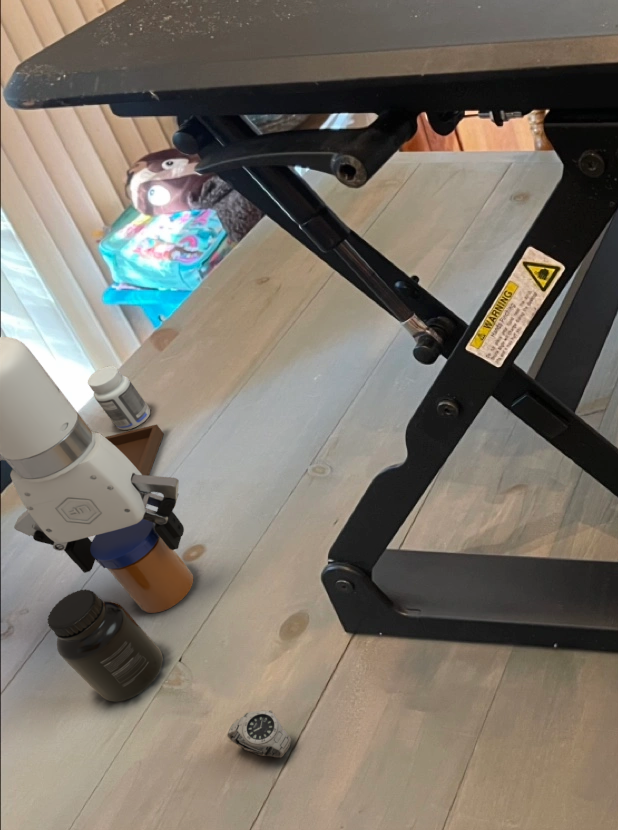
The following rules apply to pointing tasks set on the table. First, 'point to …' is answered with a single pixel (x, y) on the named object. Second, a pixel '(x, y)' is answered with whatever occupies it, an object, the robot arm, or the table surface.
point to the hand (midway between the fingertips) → (134, 551)
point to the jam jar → (156, 579)
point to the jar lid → (124, 545)
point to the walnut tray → (139, 446)
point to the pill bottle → (118, 398)
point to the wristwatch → (260, 734)
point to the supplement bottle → (104, 645)
